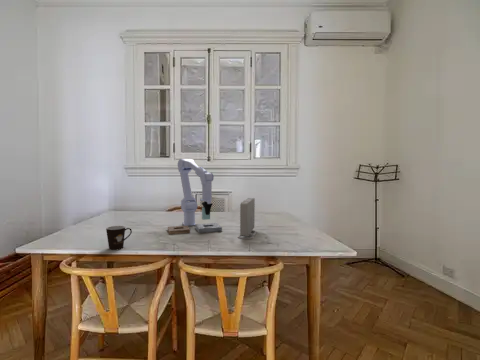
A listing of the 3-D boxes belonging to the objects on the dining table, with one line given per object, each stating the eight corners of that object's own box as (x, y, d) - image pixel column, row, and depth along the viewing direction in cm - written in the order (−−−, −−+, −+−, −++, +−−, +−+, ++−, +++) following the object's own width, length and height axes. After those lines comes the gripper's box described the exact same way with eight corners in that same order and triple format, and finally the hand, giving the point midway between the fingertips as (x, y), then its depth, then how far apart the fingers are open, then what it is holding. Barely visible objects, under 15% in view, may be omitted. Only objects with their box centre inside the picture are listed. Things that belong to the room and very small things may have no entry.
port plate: (195, 228, 191) (195, 224, 191) (216, 226, 195) (216, 222, 195) (198, 232, 177) (198, 228, 177) (221, 231, 182) (221, 227, 181)
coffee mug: (106, 251, 140) (105, 230, 140) (106, 246, 148) (106, 226, 148) (132, 248, 145) (132, 228, 144) (131, 244, 153) (131, 224, 152)
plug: (201, 218, 186) (201, 207, 186) (209, 218, 188) (209, 207, 187) (202, 219, 183) (202, 208, 183) (210, 219, 184) (210, 207, 184)
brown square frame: (167, 229, 185) (167, 226, 185) (187, 228, 189) (187, 225, 189) (169, 234, 174) (169, 230, 174) (189, 232, 177) (189, 229, 177)
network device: (251, 240, 160) (251, 203, 159) (235, 239, 162) (235, 202, 160) (258, 230, 185) (258, 197, 184) (244, 229, 187) (244, 197, 185)
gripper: (198, 191, 190) (198, 212, 191) (202, 193, 177) (202, 216, 177) (209, 190, 192) (209, 212, 193) (214, 193, 179) (214, 215, 179)
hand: (207, 214), depth 185 cm, fingers closed on plug, 3 cm apart
